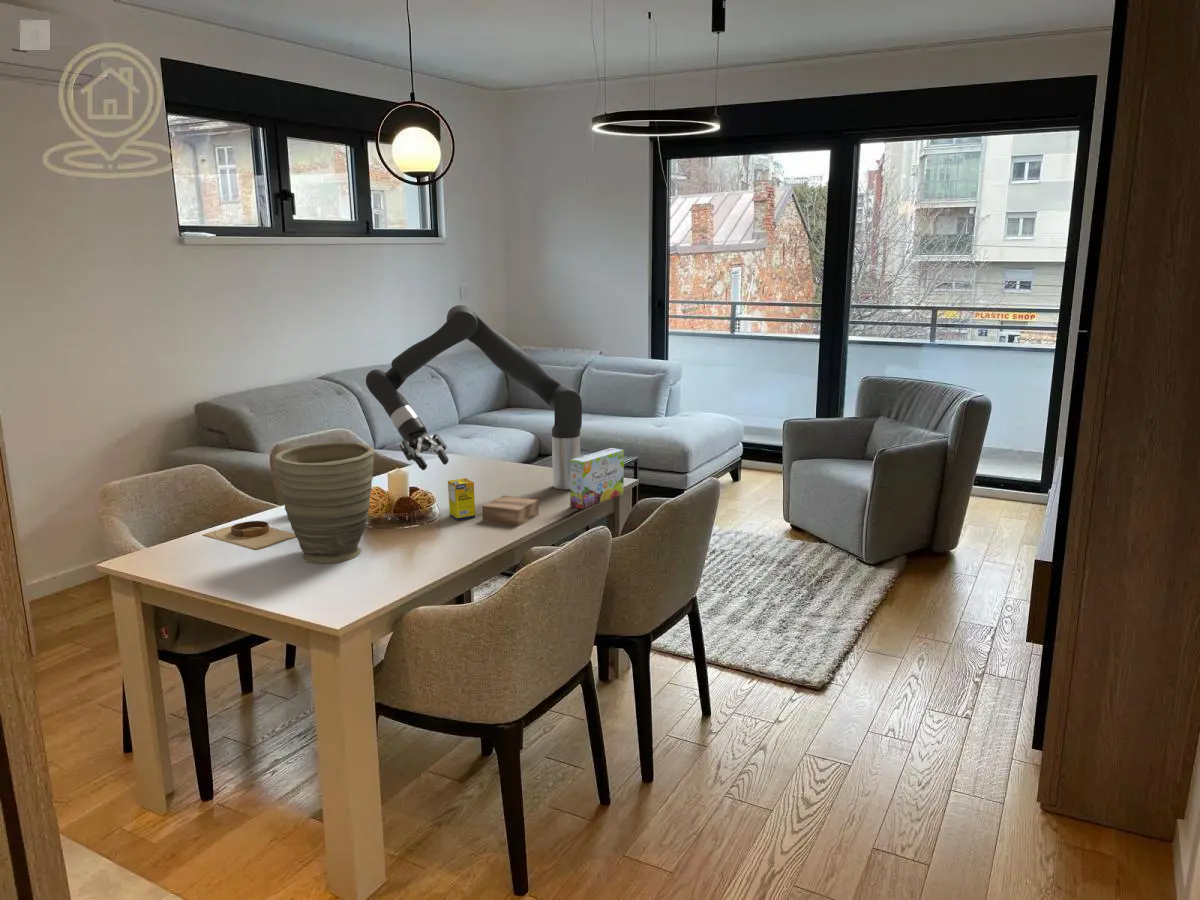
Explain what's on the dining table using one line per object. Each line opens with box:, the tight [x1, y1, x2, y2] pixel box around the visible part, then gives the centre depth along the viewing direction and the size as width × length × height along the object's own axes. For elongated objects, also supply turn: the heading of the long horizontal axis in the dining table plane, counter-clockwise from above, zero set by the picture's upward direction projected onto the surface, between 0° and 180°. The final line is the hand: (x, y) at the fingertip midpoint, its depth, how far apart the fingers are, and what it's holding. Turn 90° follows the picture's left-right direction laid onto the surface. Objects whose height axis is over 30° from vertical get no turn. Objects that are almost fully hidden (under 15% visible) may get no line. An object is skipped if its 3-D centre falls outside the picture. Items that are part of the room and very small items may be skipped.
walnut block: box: [481, 495, 540, 527], centre depth 257 cm, size 12×12×5 cm
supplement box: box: [447, 477, 476, 521], centre depth 258 cm, size 6×6×11 cm
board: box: [201, 520, 297, 551], centre depth 244 cm, size 25×15×3 cm, turn 58°
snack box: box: [569, 447, 625, 510], centre depth 273 cm, size 21×6×15 cm, turn 143°
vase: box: [274, 441, 375, 564], centre depth 224 cm, size 24×24×30 cm
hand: (436, 465), depth 262 cm, fingers open, 8 cm apart
